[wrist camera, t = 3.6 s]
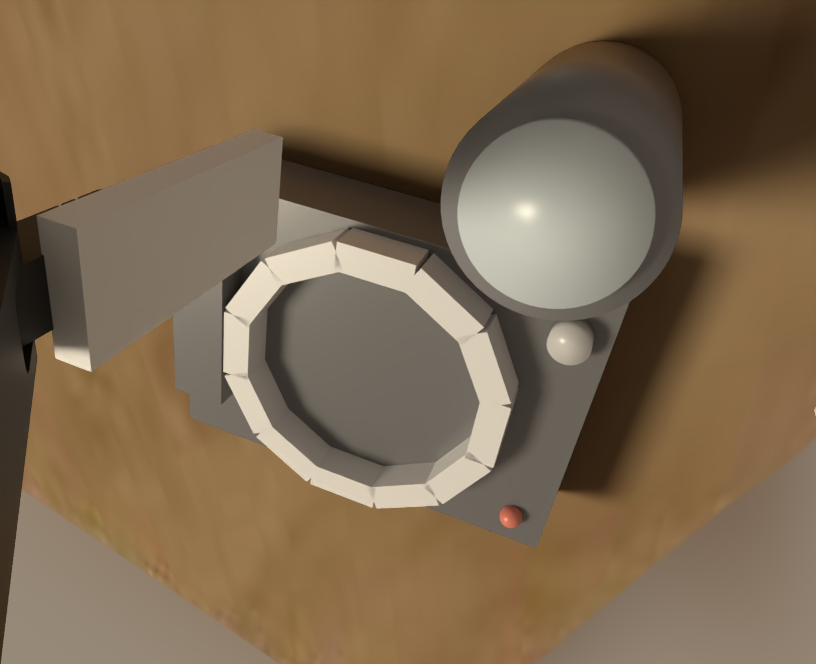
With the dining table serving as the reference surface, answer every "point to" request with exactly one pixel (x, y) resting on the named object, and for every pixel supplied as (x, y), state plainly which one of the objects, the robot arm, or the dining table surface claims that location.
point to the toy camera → (390, 362)
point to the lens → (570, 185)
